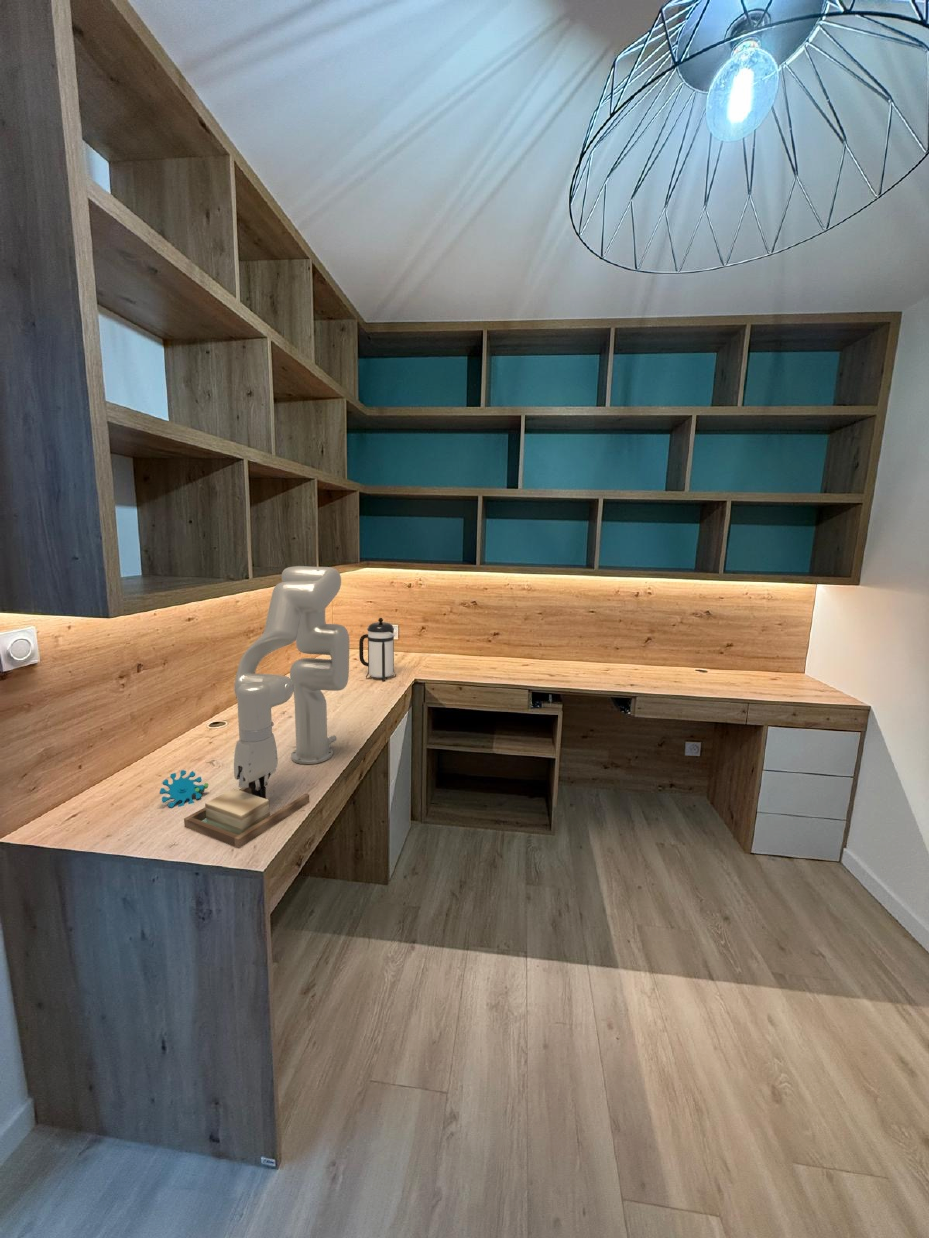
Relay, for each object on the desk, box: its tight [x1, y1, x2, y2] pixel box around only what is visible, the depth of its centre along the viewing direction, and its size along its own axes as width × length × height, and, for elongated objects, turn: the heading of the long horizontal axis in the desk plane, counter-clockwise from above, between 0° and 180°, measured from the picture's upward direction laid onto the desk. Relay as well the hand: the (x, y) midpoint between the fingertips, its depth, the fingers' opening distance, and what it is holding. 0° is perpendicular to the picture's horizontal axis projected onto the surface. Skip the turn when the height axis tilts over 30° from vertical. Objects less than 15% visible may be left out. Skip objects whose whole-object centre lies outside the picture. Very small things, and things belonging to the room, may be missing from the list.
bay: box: [183, 787, 310, 849], centre depth 125 cm, size 22×18×3 cm
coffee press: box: [358, 617, 397, 682], centre depth 247 cm, size 17×16×30 cm
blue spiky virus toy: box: [159, 769, 209, 809], centre depth 132 cm, size 11×6×10 cm
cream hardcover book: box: [204, 788, 271, 835], centre depth 121 cm, size 8×12×5 cm
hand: (259, 801), depth 127 cm, fingers closed
